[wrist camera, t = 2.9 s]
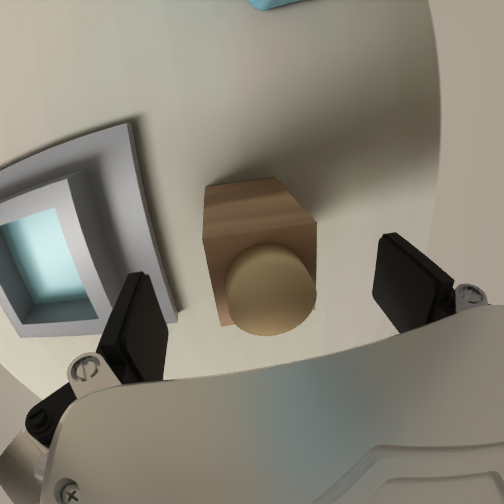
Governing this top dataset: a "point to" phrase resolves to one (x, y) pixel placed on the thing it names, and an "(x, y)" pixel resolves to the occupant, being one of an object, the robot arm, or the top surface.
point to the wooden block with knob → (260, 255)
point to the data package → (268, 3)
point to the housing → (76, 236)
